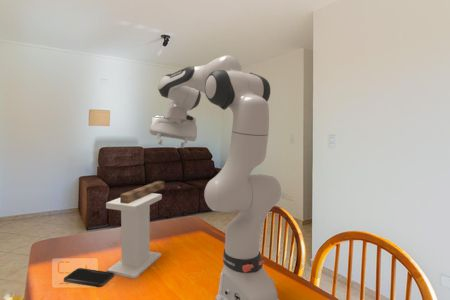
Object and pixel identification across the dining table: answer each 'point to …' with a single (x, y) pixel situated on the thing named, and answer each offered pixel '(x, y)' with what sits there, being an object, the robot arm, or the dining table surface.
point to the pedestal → (134, 236)
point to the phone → (89, 277)
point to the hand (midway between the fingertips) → (171, 145)
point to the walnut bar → (141, 192)
